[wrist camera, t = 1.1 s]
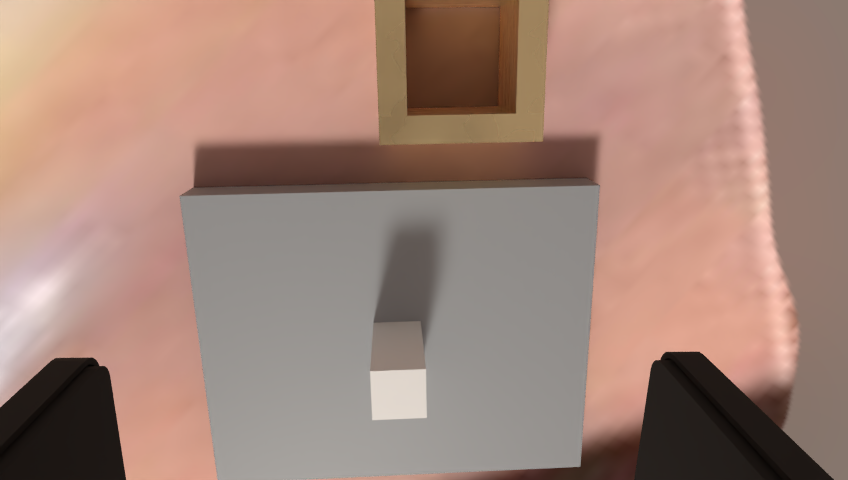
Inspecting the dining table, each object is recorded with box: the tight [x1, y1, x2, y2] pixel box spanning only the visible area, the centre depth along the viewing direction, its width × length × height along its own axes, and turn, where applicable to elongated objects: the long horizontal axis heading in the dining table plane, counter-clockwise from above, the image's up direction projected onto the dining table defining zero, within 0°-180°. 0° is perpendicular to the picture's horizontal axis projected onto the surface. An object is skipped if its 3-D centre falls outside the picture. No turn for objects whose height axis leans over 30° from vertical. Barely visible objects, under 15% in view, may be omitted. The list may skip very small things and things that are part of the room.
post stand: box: [180, 178, 600, 480], centre depth 29 cm, size 16×20×7 cm
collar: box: [374, 0, 549, 145], centre depth 27 cm, size 7×7×4 cm
